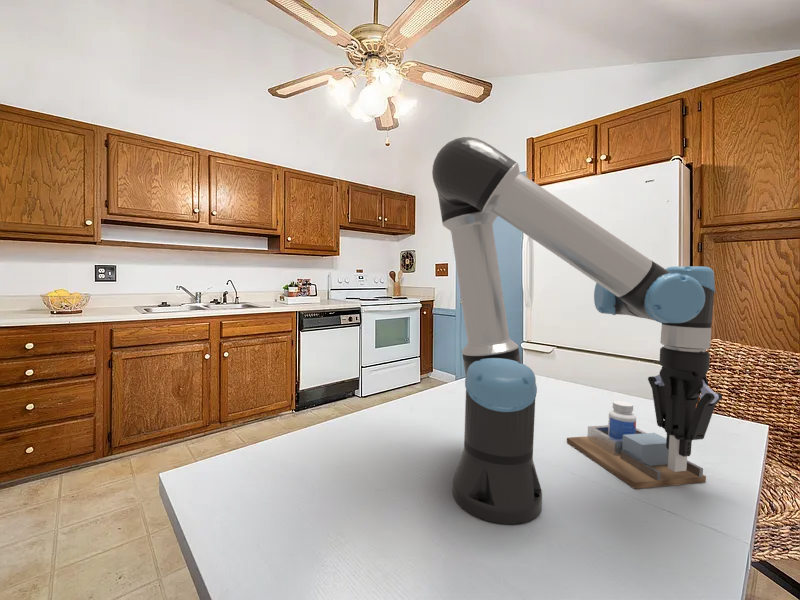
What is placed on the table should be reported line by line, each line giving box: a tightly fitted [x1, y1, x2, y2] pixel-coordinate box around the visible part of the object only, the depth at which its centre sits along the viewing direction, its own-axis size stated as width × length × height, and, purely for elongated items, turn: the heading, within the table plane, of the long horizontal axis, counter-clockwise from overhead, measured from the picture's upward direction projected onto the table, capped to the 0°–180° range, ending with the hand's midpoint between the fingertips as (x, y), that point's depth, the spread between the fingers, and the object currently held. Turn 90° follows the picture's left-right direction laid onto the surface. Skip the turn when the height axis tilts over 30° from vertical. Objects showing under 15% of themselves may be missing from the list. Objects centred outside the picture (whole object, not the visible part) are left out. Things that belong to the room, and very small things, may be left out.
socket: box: [586, 424, 646, 455], centre depth 85 cm, size 11×8×3 cm
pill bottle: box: [607, 400, 637, 440], centre depth 84 cm, size 6×5×10 cm
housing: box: [622, 432, 669, 466], centre depth 78 cm, size 8×5×4 cm, turn 101°
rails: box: [620, 450, 704, 481], centre depth 75 cm, size 10×9×2 cm
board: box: [566, 436, 707, 490], centre depth 80 cm, size 16×20×1 cm
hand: (676, 469), depth 71 cm, fingers closed
